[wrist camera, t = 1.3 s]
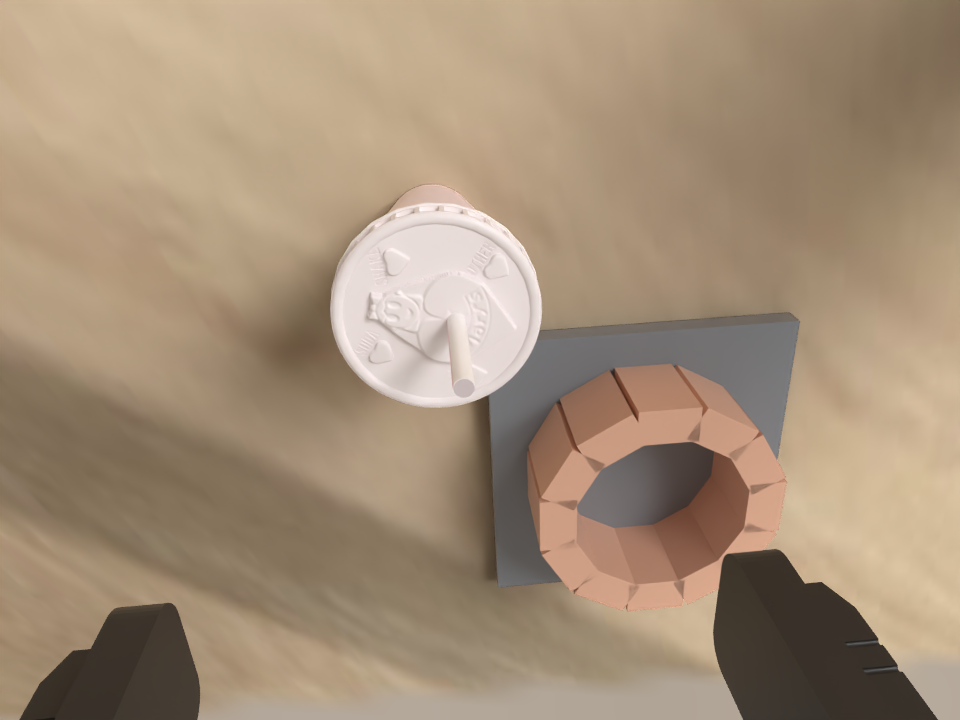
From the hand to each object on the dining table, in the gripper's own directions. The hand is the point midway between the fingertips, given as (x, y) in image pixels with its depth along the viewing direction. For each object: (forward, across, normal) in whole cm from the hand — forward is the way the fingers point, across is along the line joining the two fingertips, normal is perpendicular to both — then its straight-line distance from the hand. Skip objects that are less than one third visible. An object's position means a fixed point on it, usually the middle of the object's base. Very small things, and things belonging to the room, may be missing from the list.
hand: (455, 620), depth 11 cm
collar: (+21, -9, +12) cm, 26 cm away
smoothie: (+22, 0, 0) cm, 22 cm away
